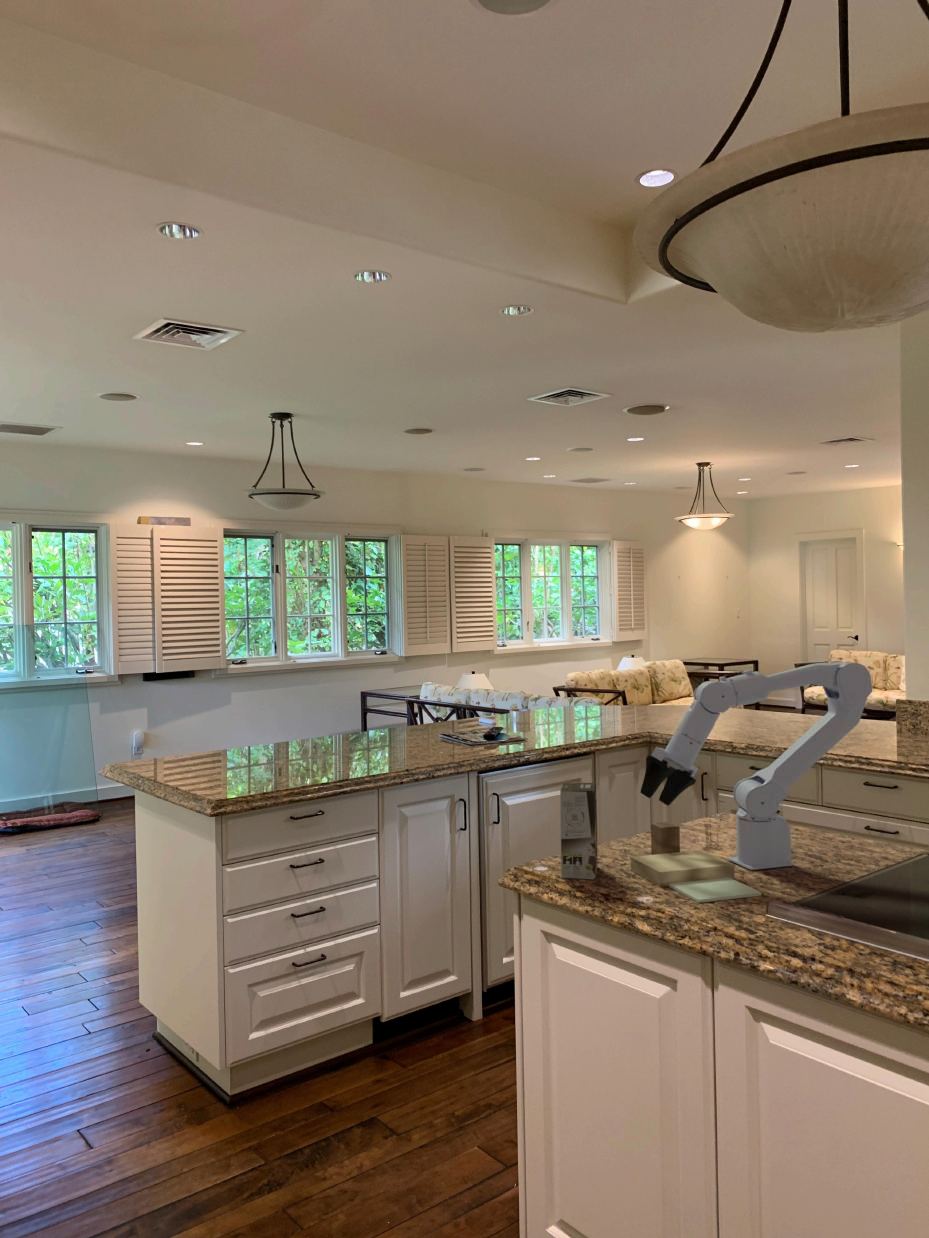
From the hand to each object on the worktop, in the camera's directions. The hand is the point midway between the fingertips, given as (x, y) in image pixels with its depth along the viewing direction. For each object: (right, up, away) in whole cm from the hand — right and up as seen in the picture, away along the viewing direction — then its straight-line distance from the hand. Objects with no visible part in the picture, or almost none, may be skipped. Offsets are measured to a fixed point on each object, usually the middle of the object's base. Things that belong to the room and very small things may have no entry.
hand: (654, 799), depth 169 cm
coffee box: (-15, -13, -5) cm, 20 cm away
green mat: (+7, -12, -18) cm, 22 cm away
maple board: (+3, -12, -7) cm, 15 cm away
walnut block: (+3, -13, +2) cm, 13 cm away
